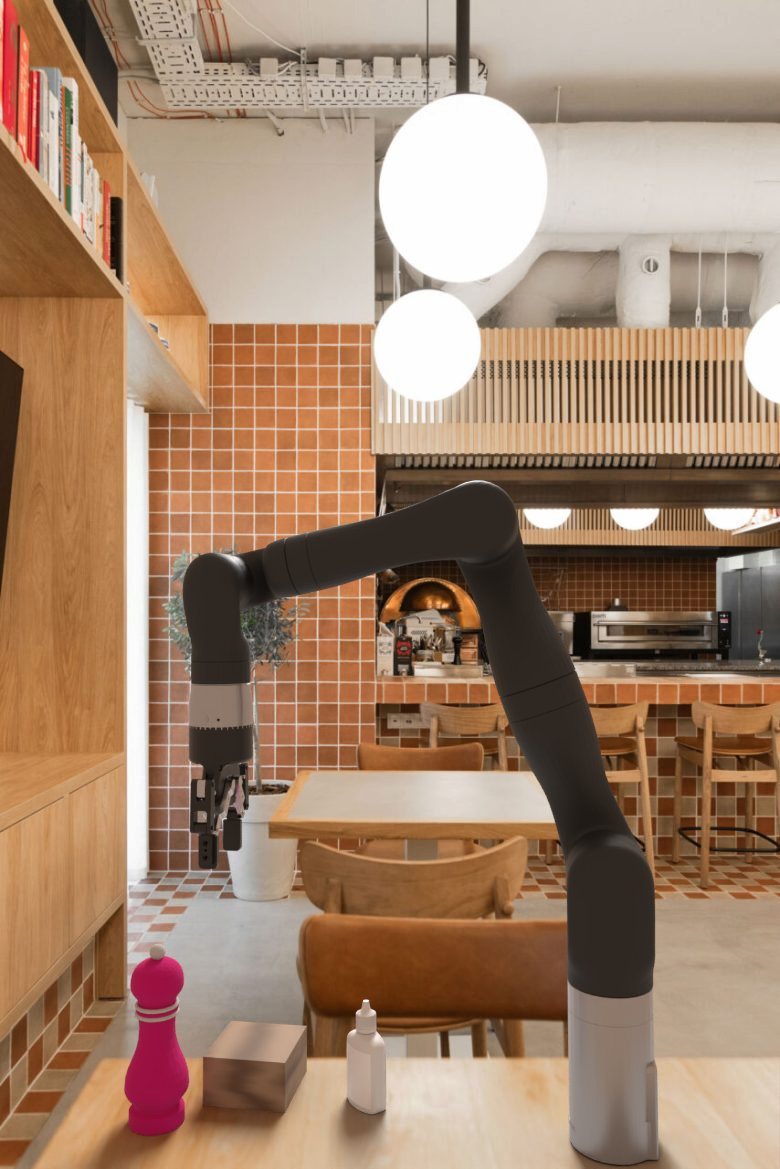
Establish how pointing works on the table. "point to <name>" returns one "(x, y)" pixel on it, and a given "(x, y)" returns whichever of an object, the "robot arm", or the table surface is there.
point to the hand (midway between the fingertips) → (221, 858)
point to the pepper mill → (156, 1048)
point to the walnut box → (255, 1066)
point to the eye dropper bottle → (366, 1064)
